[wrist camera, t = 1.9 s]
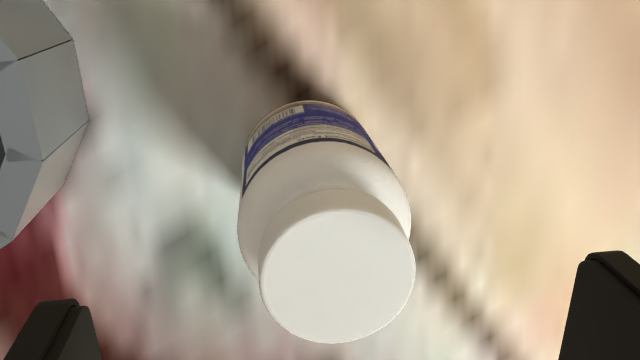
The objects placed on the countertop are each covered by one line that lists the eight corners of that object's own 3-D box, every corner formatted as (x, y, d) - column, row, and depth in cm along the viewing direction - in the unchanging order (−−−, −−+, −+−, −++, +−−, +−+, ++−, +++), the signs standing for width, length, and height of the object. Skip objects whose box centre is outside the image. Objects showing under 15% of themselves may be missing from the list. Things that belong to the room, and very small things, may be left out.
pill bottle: (366, 219, 22) (428, 363, 14) (243, 220, 22) (233, 371, 14) (377, 97, 20) (455, 183, 12) (241, 94, 20) (229, 183, 12)
